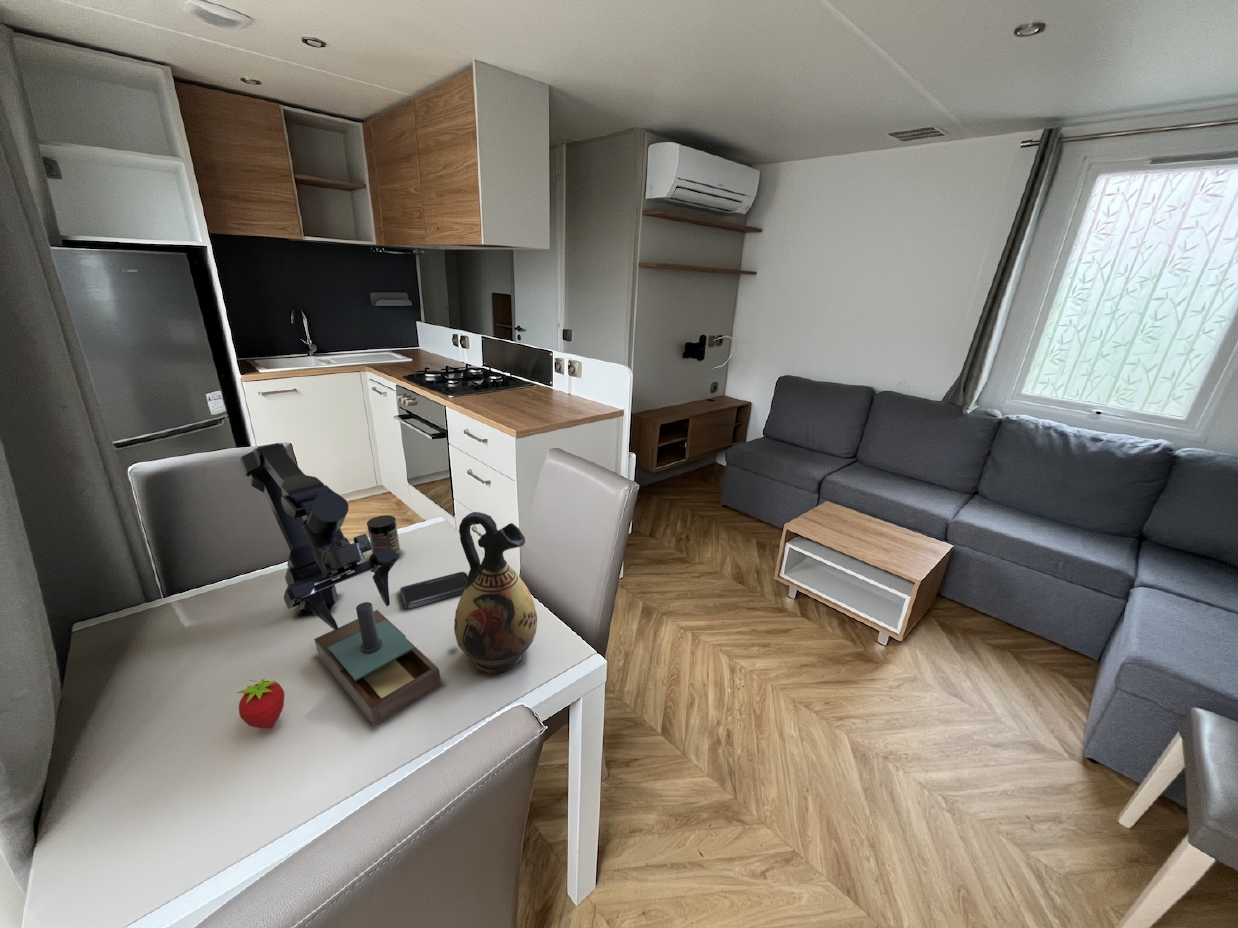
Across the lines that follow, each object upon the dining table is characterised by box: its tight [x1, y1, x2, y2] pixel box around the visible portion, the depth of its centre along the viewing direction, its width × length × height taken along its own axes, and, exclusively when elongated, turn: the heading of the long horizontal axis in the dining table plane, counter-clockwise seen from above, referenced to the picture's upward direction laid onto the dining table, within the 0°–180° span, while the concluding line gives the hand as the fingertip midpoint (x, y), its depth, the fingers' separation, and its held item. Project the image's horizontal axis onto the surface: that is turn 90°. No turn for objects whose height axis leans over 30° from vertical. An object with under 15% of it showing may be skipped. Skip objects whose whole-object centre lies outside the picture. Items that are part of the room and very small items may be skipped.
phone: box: [399, 571, 468, 609], centre depth 115 cm, size 8×1×15 cm
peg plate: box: [328, 601, 416, 681], centre depth 89 cm, size 12×11×9 cm
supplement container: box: [366, 514, 402, 557], centre depth 128 cm, size 7×7×10 cm
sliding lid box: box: [314, 609, 442, 727], centre depth 92 cm, size 24×12×4 cm, turn 49°
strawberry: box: [236, 676, 285, 730], centre depth 78 cm, size 6×8×10 cm
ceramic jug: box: [453, 511, 538, 675], centre depth 92 cm, size 17×15×30 cm
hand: (363, 617), depth 90 cm, fingers open, 9 cm apart
